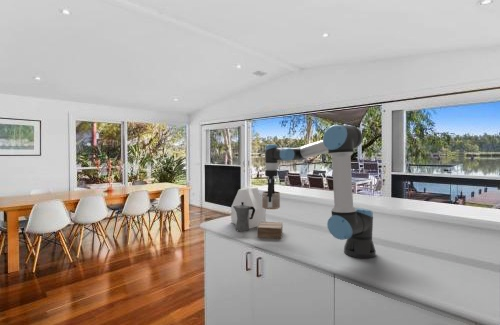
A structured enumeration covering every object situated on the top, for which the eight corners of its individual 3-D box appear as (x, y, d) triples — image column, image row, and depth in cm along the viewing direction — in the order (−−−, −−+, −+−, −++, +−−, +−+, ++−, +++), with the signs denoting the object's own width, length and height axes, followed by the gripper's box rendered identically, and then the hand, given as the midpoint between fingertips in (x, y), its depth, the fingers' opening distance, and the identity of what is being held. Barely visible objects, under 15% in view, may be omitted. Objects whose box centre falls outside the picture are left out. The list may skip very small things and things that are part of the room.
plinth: (281, 238, 175) (281, 228, 175) (257, 237, 177) (257, 227, 177) (282, 231, 189) (282, 222, 188) (260, 230, 191) (260, 221, 191)
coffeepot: (230, 230, 192) (230, 202, 191) (236, 226, 201) (236, 200, 200) (252, 232, 187) (252, 204, 186) (257, 229, 195) (257, 201, 194)
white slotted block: (265, 224, 207) (265, 189, 205) (248, 228, 197) (248, 191, 195) (247, 219, 221) (247, 186, 220) (231, 222, 211) (231, 187, 210)
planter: (279, 206, 187) (280, 191, 187) (279, 209, 176) (280, 193, 176) (262, 205, 188) (262, 190, 188) (261, 209, 177) (261, 193, 177)
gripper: (267, 168, 193) (267, 201, 194) (262, 171, 170) (262, 209, 171) (278, 168, 192) (278, 202, 193) (275, 171, 169) (275, 209, 170)
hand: (270, 205), depth 182 cm, fingers closed on planter, 11 cm apart
